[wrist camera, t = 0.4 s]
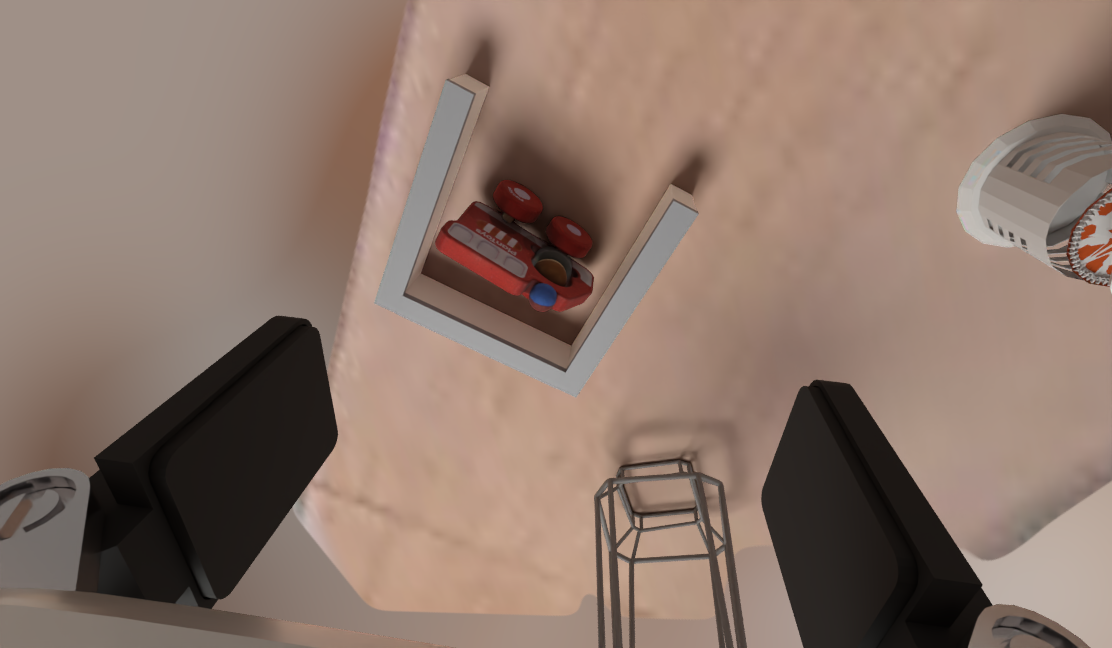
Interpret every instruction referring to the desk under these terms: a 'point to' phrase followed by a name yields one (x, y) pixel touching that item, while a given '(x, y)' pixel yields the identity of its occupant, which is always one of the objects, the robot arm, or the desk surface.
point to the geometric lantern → (712, 556)
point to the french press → (1046, 194)
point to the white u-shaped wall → (481, 322)
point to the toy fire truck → (521, 249)
